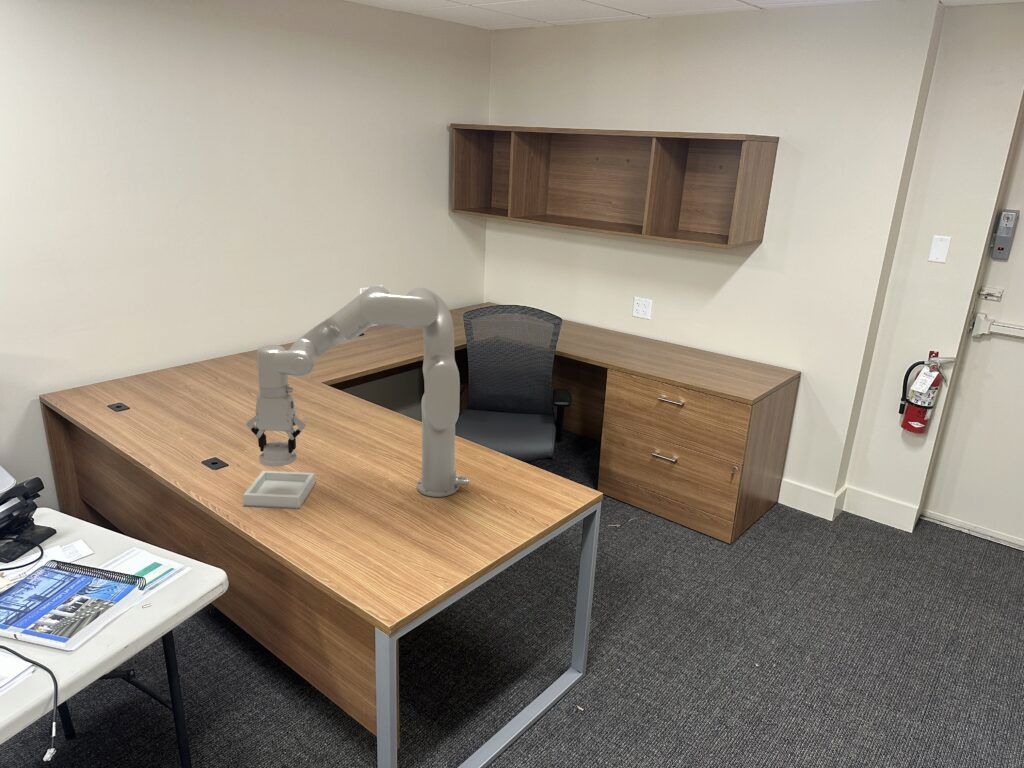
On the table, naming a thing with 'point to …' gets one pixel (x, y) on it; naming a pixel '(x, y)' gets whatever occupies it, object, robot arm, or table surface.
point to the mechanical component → (277, 454)
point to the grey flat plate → (274, 507)
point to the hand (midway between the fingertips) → (277, 449)
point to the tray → (279, 489)
